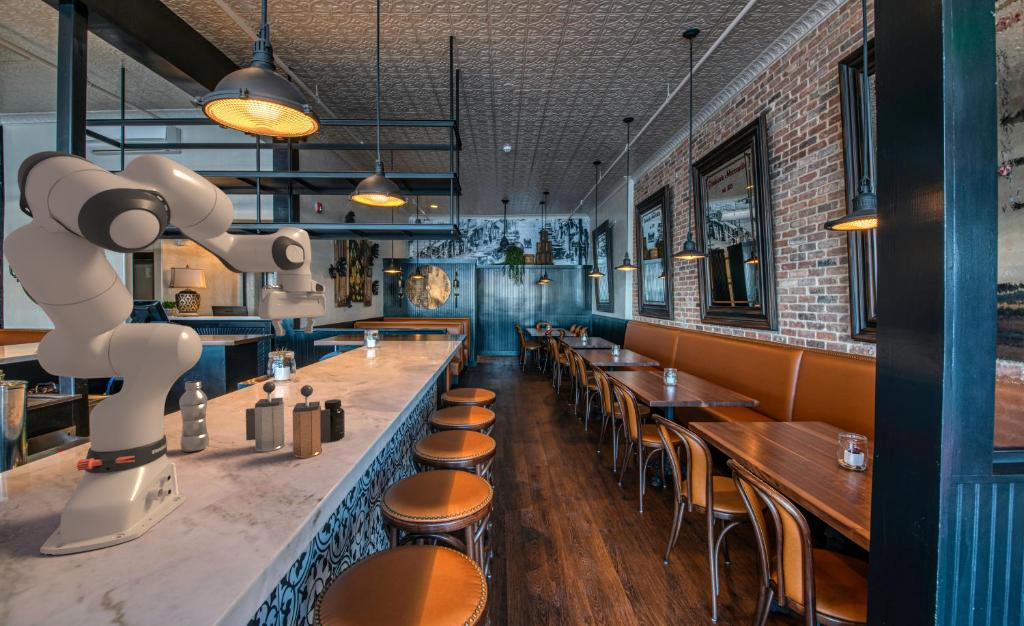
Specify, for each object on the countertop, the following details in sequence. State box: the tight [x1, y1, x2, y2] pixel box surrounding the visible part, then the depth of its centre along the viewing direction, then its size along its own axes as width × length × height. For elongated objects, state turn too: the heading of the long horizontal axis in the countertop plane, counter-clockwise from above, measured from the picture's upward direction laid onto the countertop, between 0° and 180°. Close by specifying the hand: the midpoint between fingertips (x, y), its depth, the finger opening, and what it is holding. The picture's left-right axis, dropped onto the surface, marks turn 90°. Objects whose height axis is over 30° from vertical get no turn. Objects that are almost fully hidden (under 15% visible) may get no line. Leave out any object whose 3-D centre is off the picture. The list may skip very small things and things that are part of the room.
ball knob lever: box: [300, 384, 314, 406], centre depth 115 cm, size 3×3×15 cm
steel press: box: [245, 397, 286, 453], centre depth 119 cm, size 10×7×14 cm
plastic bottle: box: [178, 380, 210, 453], centre depth 117 cm, size 6×7×20 cm
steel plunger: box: [262, 381, 276, 401], centre depth 119 cm, size 3×3×15 cm
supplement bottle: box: [323, 398, 346, 443], centre depth 127 cm, size 7×7×12 cm
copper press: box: [292, 401, 330, 460], centre depth 115 cm, size 10×7×14 cm
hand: (295, 334), depth 115 cm, fingers open, 8 cm apart
